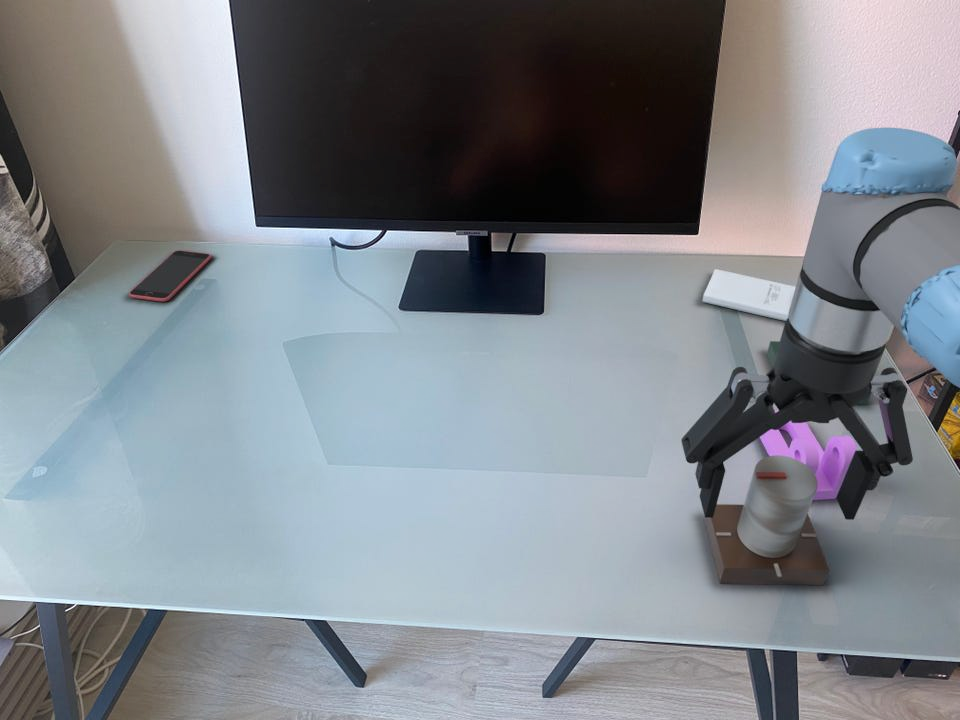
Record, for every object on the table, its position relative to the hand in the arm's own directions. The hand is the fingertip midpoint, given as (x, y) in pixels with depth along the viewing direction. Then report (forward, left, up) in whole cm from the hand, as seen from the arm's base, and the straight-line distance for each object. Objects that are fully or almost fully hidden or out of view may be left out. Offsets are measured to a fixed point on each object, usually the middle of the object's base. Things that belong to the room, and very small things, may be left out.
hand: (775, 507), depth 73 cm
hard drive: (+35, -32, -7) cm, 48 cm away
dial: (0, 0, -4) cm, 4 cm away
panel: (0, 0, -7) cm, 7 cm away
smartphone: (+85, +43, -7) cm, 95 cm away
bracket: (+8, -13, -7) cm, 17 cm away
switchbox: (+17, -26, -7) cm, 32 cm away
